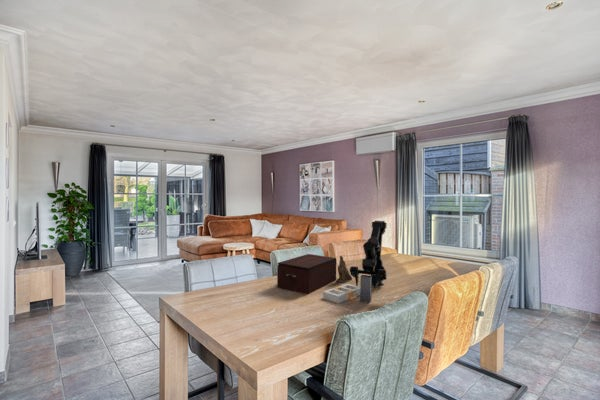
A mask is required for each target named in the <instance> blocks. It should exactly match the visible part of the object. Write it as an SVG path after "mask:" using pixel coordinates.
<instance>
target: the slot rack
mask: <svg viewBox="0 0 600 400" xmlns="http://www.w3.org/2000/svg"><path fill="white" fill-rule="evenodd" d="M357 297H360V286H359V285H358V286H356V285H355V284H354V285H353V284H349V283H346V284H342V285H340V286H337V287H333V288H330V289H327V290H322V299H324V300H327V301H330V302H333V303H337V304H340V303H342V302H346V301H354V300H356V299H358V298H357Z"/></svg>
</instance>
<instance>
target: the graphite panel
mask: <svg viewBox="0 0 600 400" xmlns="http://www.w3.org/2000/svg"><path fill="white" fill-rule="evenodd" d="M359 284H360V286H359V287H360V295H359V302H362V303H368V304H370V303H371V302H372V284H371V275H368V274H361V275H360V281H359Z"/></svg>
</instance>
